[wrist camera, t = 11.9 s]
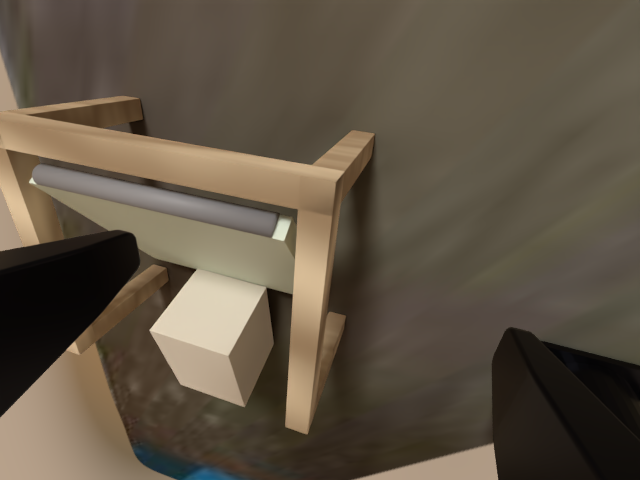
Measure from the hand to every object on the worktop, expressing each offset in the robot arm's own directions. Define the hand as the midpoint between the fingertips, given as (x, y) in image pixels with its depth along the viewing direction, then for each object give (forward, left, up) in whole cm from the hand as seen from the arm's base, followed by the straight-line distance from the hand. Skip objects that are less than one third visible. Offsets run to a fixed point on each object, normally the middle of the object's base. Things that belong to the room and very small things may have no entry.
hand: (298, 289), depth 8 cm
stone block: (+8, +9, -8) cm, 15 cm away
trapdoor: (+8, +4, -8) cm, 12 cm away
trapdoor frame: (+8, +6, -12) cm, 16 cm away
